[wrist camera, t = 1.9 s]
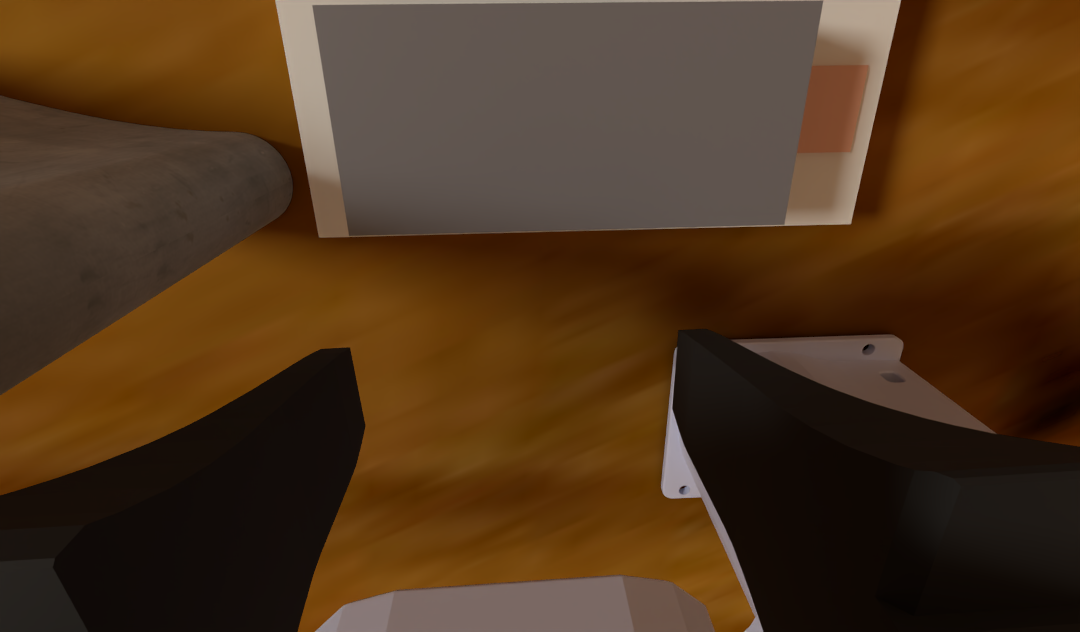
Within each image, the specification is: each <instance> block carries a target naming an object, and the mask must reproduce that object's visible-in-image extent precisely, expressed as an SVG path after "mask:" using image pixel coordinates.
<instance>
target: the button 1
mask: <svg viewBox="0 0 1080 632" xmlns="http://www.w3.org/2000/svg"><path fill="white" fill-rule="evenodd" d="M822 5H823V1H718V2H602V3H486V4H370V5H312V7H313V13H314V20H315V26H316V32H317V38H318V45H319V51H320V57H321V63H322V70H323V76H324V82H325V88H326V95H327V101H328V107H329V114H330V120H331V126H332V132H333V139H334V145H335V151H336V157H337V164H338V170H339V176H340V182H341V189H342V195H343V201H344V207H345V214H346V220H347V226H348V232H349V236H367V235H406V234H445V233H484V232H523V231H562V230H601V229H640V228H679V227H717V226H756V225H784V224H785V218H786V212H787V207H788V201H789V195H790V189H791V184H792V178H793V172H794V166H795V161H796V155H797V149H798V143H799V138H800V132H801V126H802V120H803V115H804V109H805V103H806V97H807V92H808V86H809V80H810V74H811V69H812V63H813V57H814V51H815V46H816V40H817V34H818V28H819V23H820V17H821V11H822Z"/></svg>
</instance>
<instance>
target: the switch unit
mask: <svg viewBox="0 0 1080 632" xmlns="http://www.w3.org/2000/svg"><path fill="white" fill-rule="evenodd" d="M718 1H823V5H822V11H821V17H820V23H819V28H818V34H817V40H816V46H815V51H814V57H813V63H812V69H811V74H810V80H809V86H808V92H807V97H806V103H805V109H804V115H803V120H802V126H801V132H800V138H799V143H798V149H797V155H796V161H795V166H794V172H793V178H792V184H791V189H790V195H789V201H788V207H787V212H786V218H785V224H784V225H756V226H794V225H833V224H851V221H852V216H853V212H854V207H855V203H856V198H857V194H858V190H859V185H860V181H861V176H862V172H863V167H864V163H865V158H866V154H867V150H868V145H869V141H870V136H871V132H872V127H873V123H874V118H875V114H876V109H877V105H878V101H879V96H880V92H881V87H882V83H883V78H884V74H885V69H886V65H887V60H888V56H889V52H890V47H891V43H892V38H893V34H894V29H895V25H896V20H897V16H898V11H899V7H900V3H901V0H276V6H277V11H278V17H279V22H280V28H281V33H282V39H283V44H284V49H285V55H286V60H287V66H288V71H289V77H290V82H291V88H292V93H293V99H294V104H295V110H296V115H297V120H298V126H299V131H300V137H301V142H302V148H303V153H304V159H305V164H306V170H307V175H308V181H309V186H310V191H311V197H312V202H313V208H314V213H315V219H316V224H317V230H318V235H319V238H328V237H366V236H349V232H348V226H347V220H346V214H345V207H344V201H343V195H342V189H341V182H340V176H339V170H338V164H337V157H336V151H335V145H334V139H333V132H332V126H331V120H330V114H329V107H328V101H327V95H326V88H325V82H324V76H323V70H322V63H321V57H320V51H319V45H318V38H317V32H316V26H315V20H314V13H313V7H312V5H370V4H486V3H602V2H718ZM717 227H755V226H717ZM679 228H716V227H679ZM640 229H677V228H640ZM601 230H639V229H601ZM562 231H600V230H562ZM523 232H561V231H523ZM484 233H522V232H484ZM445 234H483V233H445ZM406 235H444V234H406ZM367 236H405V235H367Z"/></svg>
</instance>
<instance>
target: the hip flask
mask: <svg viewBox="0 0 1080 632" xmlns="http://www.w3.org/2000/svg"><path fill="white" fill-rule="evenodd" d="M292 193H293V181H292V177H291V173H290V170H289V168H288V166H287V164H286V162H285V160H284V159H283V157H282V156H281V155H280V153H279V152H278V151H277V150H276V149H275V148H274V147H273V146H271V145H270V144H269V143H267V142H266V141H264V140H262V139H260V138H258V137H256V136H254V135H250V134H247V133H240V132H217V131H197V130H183V129H172V128H164V127H155V126H147V125H140V124H133V123H126V122H120V121H113V120H107V119H102V118H97V117H92V116H87V115H82V114H76V113H72V112H68V111H63V110H59V109H54V108H50V107H46V106H41V105H37V104H33V103H29V102H25V101H20V100H16V99H12V98H8V97H4V96H0V395H1V394H3V393H4V392H6V391H8V390H9V389H11V388H12V387H14V386H15V385H17V384H19V383H20V382H22V381H23V380H25V379H26V378H28V377H29V376H31V375H33V374H34V373H36V372H37V371H39V370H40V369H42V368H44V367H45V366H47V365H48V364H50V363H51V362H53V361H54V360H56V359H58V358H59V357H61V356H62V355H64V354H65V353H67V352H69V351H70V350H72V349H73V348H75V347H76V346H78V345H79V344H81V343H83V342H84V341H86V340H87V339H89V338H90V337H92V336H94V335H95V334H97V333H98V332H100V331H101V330H103V329H104V328H106V327H108V326H109V325H111V324H112V323H114V322H115V321H117V320H119V319H120V318H122V317H123V316H125V315H126V314H128V313H130V312H131V311H133V310H134V309H136V308H137V307H139V306H140V305H142V304H144V303H145V302H147V301H148V300H150V299H151V298H153V297H155V296H156V295H158V294H159V293H161V292H162V291H164V290H165V289H167V288H169V287H170V286H172V285H173V284H175V283H176V282H178V281H180V280H181V279H183V278H184V277H186V276H187V275H189V274H190V273H192V272H194V271H195V270H197V269H198V268H200V267H201V266H203V265H205V264H206V263H208V262H209V261H211V260H212V259H214V258H215V257H217V256H219V255H220V254H222V253H223V252H225V251H226V250H228V249H230V248H231V247H233V246H234V245H236V244H237V243H239V242H240V241H242V240H244V239H245V238H247V237H248V236H250V235H251V234H253V233H255V232H256V231H258V230H259V229H261V228H262V227H264V226H266V225H267V224H269V223H270V222H272V221H273V220H275V219H276V218H278V217H279V216H280V215H281V214H283V213H284V212H285V210H286V209H287V207H288V206H289V203H290V201H291V198H292Z"/></svg>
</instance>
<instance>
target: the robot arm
mask: <svg viewBox="0 0 1080 632" xmlns="http://www.w3.org/2000/svg"><path fill="white" fill-rule="evenodd" d="M868 344H869V346H868V348H867V349H866V350H864V351H862V349H863V348H864V347H865V346H866V345H868ZM902 350H903V342H902V340H901V339H899V338H898V337H896V336H895V335H891V334H885V335H856V336H827V337H798V338H768V339H739V340H730V339H728V338H726V337H724V336H722V335H720V334H718V333H715V332H713V331H710V330H708V329H694V330H678V342H677V347H676V349H675V352H674V360H673V370H672V380H671V390H670V400H669V410H668V420H667V430H666V440H665V450H664V460H663V470H662V480H661V489H662V492H663V494H664V495H665V496H666V497H668V498H692V497H702V499H703V502H704V504H705V506H706V508H707V511H708V513H709V515H710V517H711V519H712V522H713V524H714V526H715V528H716V531H717V533H718V535H719V537H720V540H721V542H722V544H723V546H724V548H725V551H726V553H727V555H728V557H729V560H730V562H731V564H732V566H733V569H734V571H735V573H736V575H737V577H738V580H739V582H740V584H741V586H742V589H743V591H744V593H745V595H746V597H747V600H748V602H749V604H750V606H751V609H752V611H753V613H754V615H755V619H754V621H753V622H752V624H751V625H750V626H749V627H748V628H747V629H746V630H745V631H744V632H1080V447H1077V446H1071V445H1064V444H1058V443H1051V442H1044V441H1038V440H1031V439H1024V438H1018V437H1011V436H1005V435H1000V434H996V433H995V432H994V431H992V430H991V429H990V428H988V427H987V426H986V425H984V424H983V423H982V422H980V421H979V420H978V419H976V418H975V417H974V416H972V415H971V414H969V413H968V412H967V411H965V410H964V409H963V408H961V407H960V406H959V405H957V404H956V403H955V402H953V401H952V400H951V399H949V398H948V397H947V396H945V395H944V394H943V393H941V392H940V391H939V390H937V389H936V388H935V387H933V386H932V385H931V384H929V383H928V382H927V381H925V380H924V379H923V378H921V377H920V376H919V375H917V374H916V373H915V372H913V371H912V370H911V369H909V368H908V367H907V366H905V365H904V364H903V363H901V362H900V357H901V354H902ZM364 430H365V422H364V417H363V412H362V407H361V402H360V396H359V391H358V386H357V381H356V376H355V371H354V366H353V361H352V356H351V351H350V348H332V349H320V350H318V351H316V352H314V353H312V354H310V355H308V356H306V357H305V358H303V359H301V360H300V361H298V362H296V363H295V364H293V365H291V366H290V367H288V368H287V369H285V370H283V371H282V372H280V373H279V374H277V375H275V376H274V377H272V378H271V379H269V380H267V381H266V382H264V383H262V384H261V385H259V386H258V387H256V388H254V389H253V390H251V391H249V392H248V393H246V394H244V395H242V396H241V397H239V398H237V399H235V400H234V401H232V402H230V403H228V404H227V405H225V406H223V407H221V408H220V409H218V410H216V411H214V412H213V413H211V414H209V415H207V416H205V417H203V418H201V419H199V420H198V421H196V422H194V423H192V424H190V425H188V426H186V427H183V428H181V429H179V430H177V431H175V432H173V433H171V434H168V435H166V436H164V437H162V438H160V439H158V440H155V441H153V442H151V443H149V444H146V445H144V446H141V447H139V448H136V449H134V450H131V451H129V452H126V453H124V454H121V455H118V456H116V457H113V458H111V459H108V460H106V461H103V462H101V463H98V464H96V465H93V466H90V467H88V468H85V469H82V470H79V471H76V472H73V473H70V474H67V475H65V476H62V477H59V478H56V479H53V480H50V481H46V482H43V483H40V484H37V485H34V486H30V487H27V488H24V489H21V490H18V491H14V492H11V493H7V494H4V495H1V496H0V632H297V631H298V627H299V624H300V620H301V616H302V613H303V609H304V606H305V602H306V599H307V595H308V591H309V588H310V584H311V581H312V577H313V574H314V571H315V568H316V565H317V563H318V560H319V557H320V554H321V552H322V549H323V547H324V544H325V542H326V539H327V537H328V534H329V532H330V529H331V527H332V525H333V522H334V520H335V517H336V515H337V512H338V510H339V507H340V505H341V502H342V500H343V497H344V495H345V492H346V490H347V487H348V485H349V482H350V480H351V477H352V475H353V472H354V469H355V467H356V464H357V460H358V456H359V452H360V448H361V444H362V439H363V434H364ZM682 486H686V487H685V488H682V489H680V488H681V487H682ZM315 632H715V631H714V628H713V625H712V623H711V620H710V617H709V614H708V612H707V609H706V606H705V605H704V604H702V603H701V602H699V601H698V600H697V599H695V598H694V597H692V596H691V595H689V594H688V593H687V592H685V591H684V590H682V589H681V588H679V587H678V586H676V585H675V584H674V583H672V582H668V581H664V580H657V579H649V578H641V577H633V576H625V575H609V576H595V577H580V578H566V579H551V580H536V581H522V582H507V583H492V584H478V585H463V586H448V587H434V588H419V589H404V590H396V591H392V592H388V593H384V594H381V595H377V596H373V597H369V598H366V599H362V600H358V601H354V602H351V603H348V604H346V605H344V606H343V607H341V608H340V609H339V610H338V611H337V612H336V613H335V614H334V615H333V616H332V617H330V618H329V619H328V620H327V621H326V622H325V623H324V624H323V625H322V626H321V627H320V628H318V629H317V630H316V631H315Z"/></svg>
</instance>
